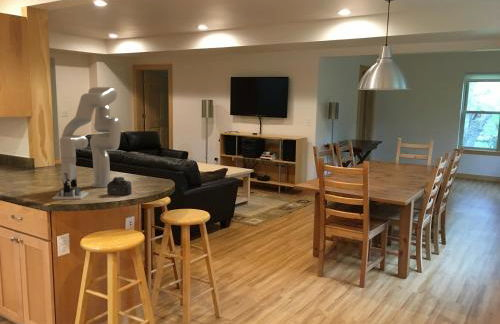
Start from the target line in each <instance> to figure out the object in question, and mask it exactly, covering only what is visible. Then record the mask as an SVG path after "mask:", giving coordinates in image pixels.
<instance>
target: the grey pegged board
mask: <svg viewBox="0 0 500 324" xmlns="http://www.w3.org/2000/svg"><path fill="white" fill-rule="evenodd" d="M72 195H73V196H64V192H63V190H61V196H60V191H59V192H56V195H54V196H53V197H52V200H81V199H83V198H86V197H87V196H89V191H87V192H86V191H85V190H82V191H80V193H79V195H78V196H75V190H72Z"/></svg>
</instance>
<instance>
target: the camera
mask: <svg viewBox="0 0 500 324" xmlns="http://www.w3.org/2000/svg"><path fill="white" fill-rule="evenodd" d="M106 188H107V189H106V190H107V191H106V193H107V194H108V195H115V196H116V195H118V196H130V195H132V193H133V191H132V188H133V186H132V182H131V181H129V180H126V179H125V178H124V177H123V176H114V177H113V179H111V180H110V182H109V184H108V185H107V187H106Z"/></svg>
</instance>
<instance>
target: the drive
mask: <svg viewBox="0 0 500 324" xmlns="http://www.w3.org/2000/svg"><path fill="white" fill-rule="evenodd" d="M61 190H63V192H64V186H62V187H61V188H60V189H59V192H60V196H61ZM72 190H75V196H78V195H79V193H80V192H81V186H77V187H71V186H70V193H64V196H73V195H72Z"/></svg>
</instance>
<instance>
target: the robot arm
mask: <svg viewBox="0 0 500 324" xmlns="http://www.w3.org/2000/svg"><path fill="white" fill-rule="evenodd" d="M117 96H118V93H117V90H116V89H115V88H114V87H110V86H96V87H95V86H94V87H91V88H89V89H88V92H86V93H84V94H82V95H81V96H80V100H79V103H78V107H77V108H76V114H75V115H74V117H73V118H72V119H71V120H70V121H69V122H68V123H67V124H66V125H65V127H64V129H63V131H62V135H61V137H60V139H59V148H60V163H61V170H60V171H61V172H60V173H61V174H60V175H61V177H60V178H61V181H62V186H63V187H64V193H70V187H78V182H77V180H78V179H77V176H78V175H77V174H78V171H77V165H76V163H77V154H76V153H77V151H76V150H83V149H85V148H87V147H88V145H90V148H91V153H92V155H91V156H92V165H93V166H92V167H93V168H92V169H93V183H91V187H92V188H98V189H99V188H107V185H108V184H109V182H110V181H111V169H110V165H111V163H110V155H109V153H108V151H109V152H114V151H117V150H118V149H119V147H120V143H121V134H122V133H121V132H122V124H121V121H120V119H119V118H117V117H115V116H114V117H113V116H111V108H110V106H109V105H111V104H112V103H113V102H114V101H116V99H117ZM94 110H95V111H94ZM94 112H95V114H94ZM93 116H94V122H93V123H94V124H93V126H94V130H95V132H97V133H105V134H94V135H92V136H91V137H90V140H88V138H87V136H84V135H80V134H79V135H77V134H75V132H76V131H77V130H78V129H79V128H81V127H83V126H85V125H87V124H89V123H91V121H92V119H93ZM106 133H109V134H106Z"/></svg>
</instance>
